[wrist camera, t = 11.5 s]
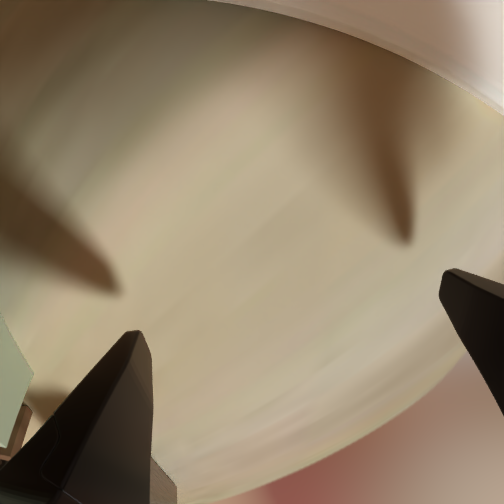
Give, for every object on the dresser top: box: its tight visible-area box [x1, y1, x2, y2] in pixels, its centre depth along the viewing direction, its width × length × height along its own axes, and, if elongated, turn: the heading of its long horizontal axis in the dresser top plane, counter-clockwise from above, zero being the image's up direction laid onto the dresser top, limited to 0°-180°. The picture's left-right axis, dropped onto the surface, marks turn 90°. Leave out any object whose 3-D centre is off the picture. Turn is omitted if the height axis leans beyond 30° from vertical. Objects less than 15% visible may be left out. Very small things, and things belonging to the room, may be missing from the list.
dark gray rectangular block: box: [150, 458, 177, 504], centre depth 12 cm, size 7×3×4 cm, turn 8°
